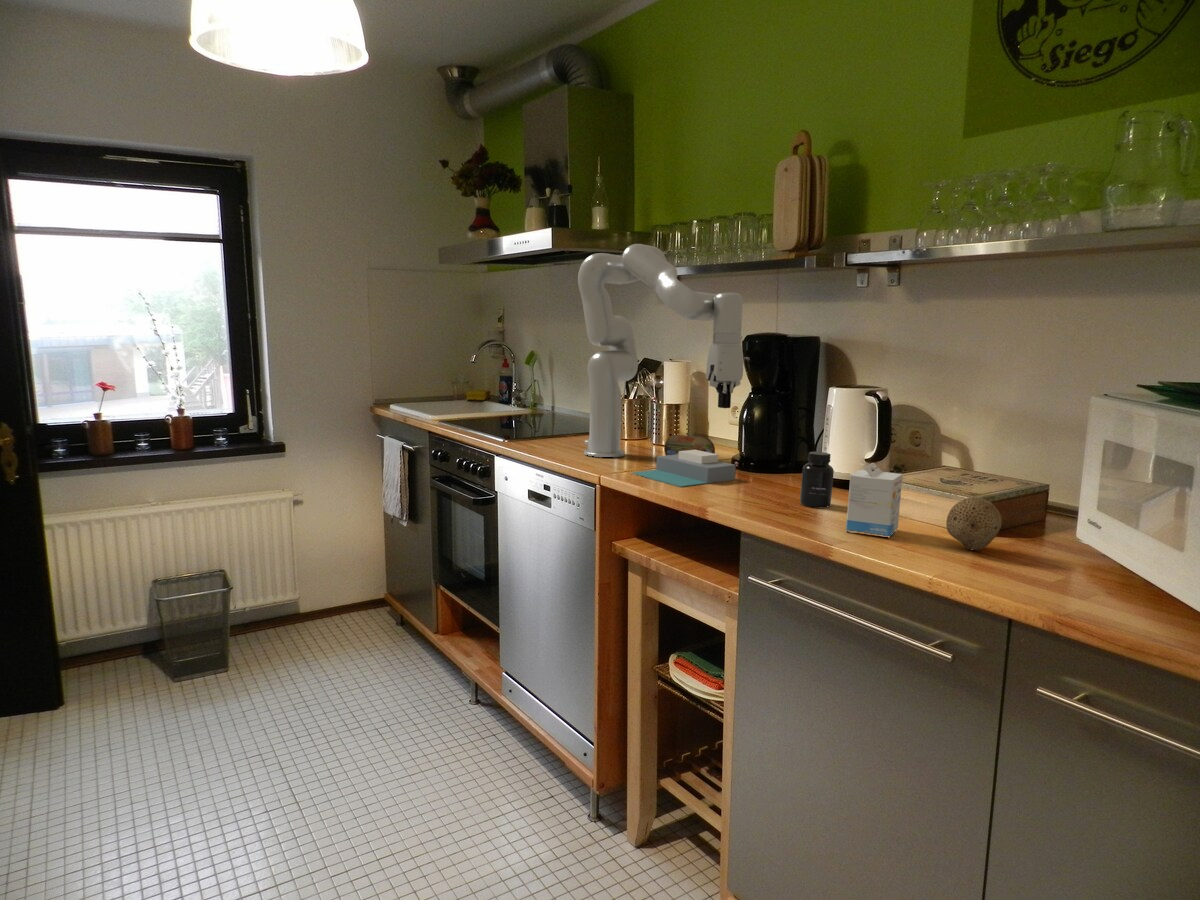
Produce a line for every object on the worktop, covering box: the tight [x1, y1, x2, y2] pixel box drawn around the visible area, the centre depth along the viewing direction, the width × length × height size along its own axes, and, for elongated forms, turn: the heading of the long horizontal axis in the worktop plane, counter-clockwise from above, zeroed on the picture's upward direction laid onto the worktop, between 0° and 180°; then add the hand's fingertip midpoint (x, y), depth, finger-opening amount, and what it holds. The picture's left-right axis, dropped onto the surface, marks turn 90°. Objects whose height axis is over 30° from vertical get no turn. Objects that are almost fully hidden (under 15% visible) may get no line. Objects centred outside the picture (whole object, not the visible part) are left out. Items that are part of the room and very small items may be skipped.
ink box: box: [845, 462, 903, 537], centre depth 153 cm, size 9×8×13 cm
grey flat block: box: [655, 454, 737, 485], centre depth 207 cm, size 20×10×4 cm, turn 36°
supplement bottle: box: [799, 451, 835, 508], centre depth 175 cm, size 7×7×12 cm
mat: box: [631, 469, 707, 488], centre depth 202 cm, size 20×9×1 cm, turn 36°
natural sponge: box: [945, 496, 1003, 551], centre depth 141 cm, size 9×9×10 cm
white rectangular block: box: [678, 450, 719, 464], centre depth 208 cm, size 9×6×2 cm, turn 36°
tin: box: [663, 434, 716, 456], centre depth 225 cm, size 15×3×8 cm, turn 62°
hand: (724, 407), depth 210 cm, fingers closed
